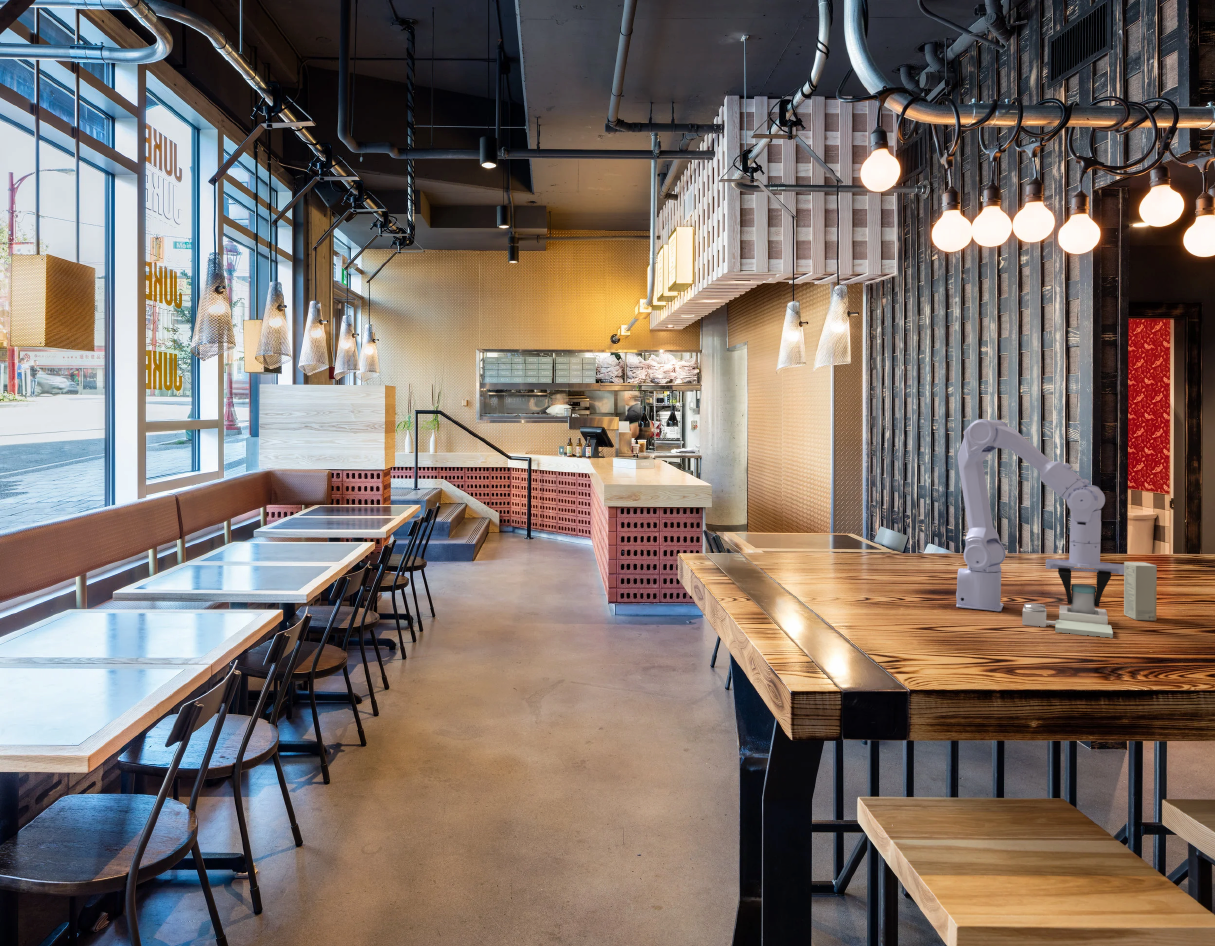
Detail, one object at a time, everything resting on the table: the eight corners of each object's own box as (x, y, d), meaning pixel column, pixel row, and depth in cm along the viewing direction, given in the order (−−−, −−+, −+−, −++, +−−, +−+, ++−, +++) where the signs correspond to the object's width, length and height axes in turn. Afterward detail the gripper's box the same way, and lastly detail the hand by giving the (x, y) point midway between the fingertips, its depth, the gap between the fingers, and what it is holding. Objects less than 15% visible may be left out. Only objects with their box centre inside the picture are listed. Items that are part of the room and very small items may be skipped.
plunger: (1023, 622, 170) (1023, 605, 170) (1024, 618, 174) (1024, 602, 174) (1044, 624, 168) (1045, 607, 168) (1045, 620, 172) (1045, 604, 172)
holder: (1022, 624, 170) (1022, 610, 170) (1025, 612, 182) (1025, 599, 182) (1108, 633, 162) (1108, 619, 162) (1105, 620, 174) (1106, 607, 174)
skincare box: (1156, 621, 174) (1158, 566, 173) (1134, 620, 175) (1136, 565, 174) (1143, 615, 180) (1145, 561, 180) (1121, 614, 181) (1123, 561, 180)
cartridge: (1070, 623, 172) (1071, 586, 171) (1070, 619, 176) (1071, 583, 175) (1095, 625, 169) (1096, 588, 169) (1094, 621, 173) (1095, 585, 173)
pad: (1055, 632, 164) (1055, 627, 164) (1055, 624, 171) (1055, 619, 171) (1112, 638, 159) (1112, 633, 159) (1110, 630, 166) (1111, 625, 166)
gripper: (1046, 541, 172) (1044, 604, 173) (1126, 546, 165) (1124, 611, 165) (1046, 538, 178) (1045, 598, 179) (1124, 542, 171) (1122, 605, 171)
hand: (1083, 604), depth 172 cm, fingers closed on cartridge, 4 cm apart
